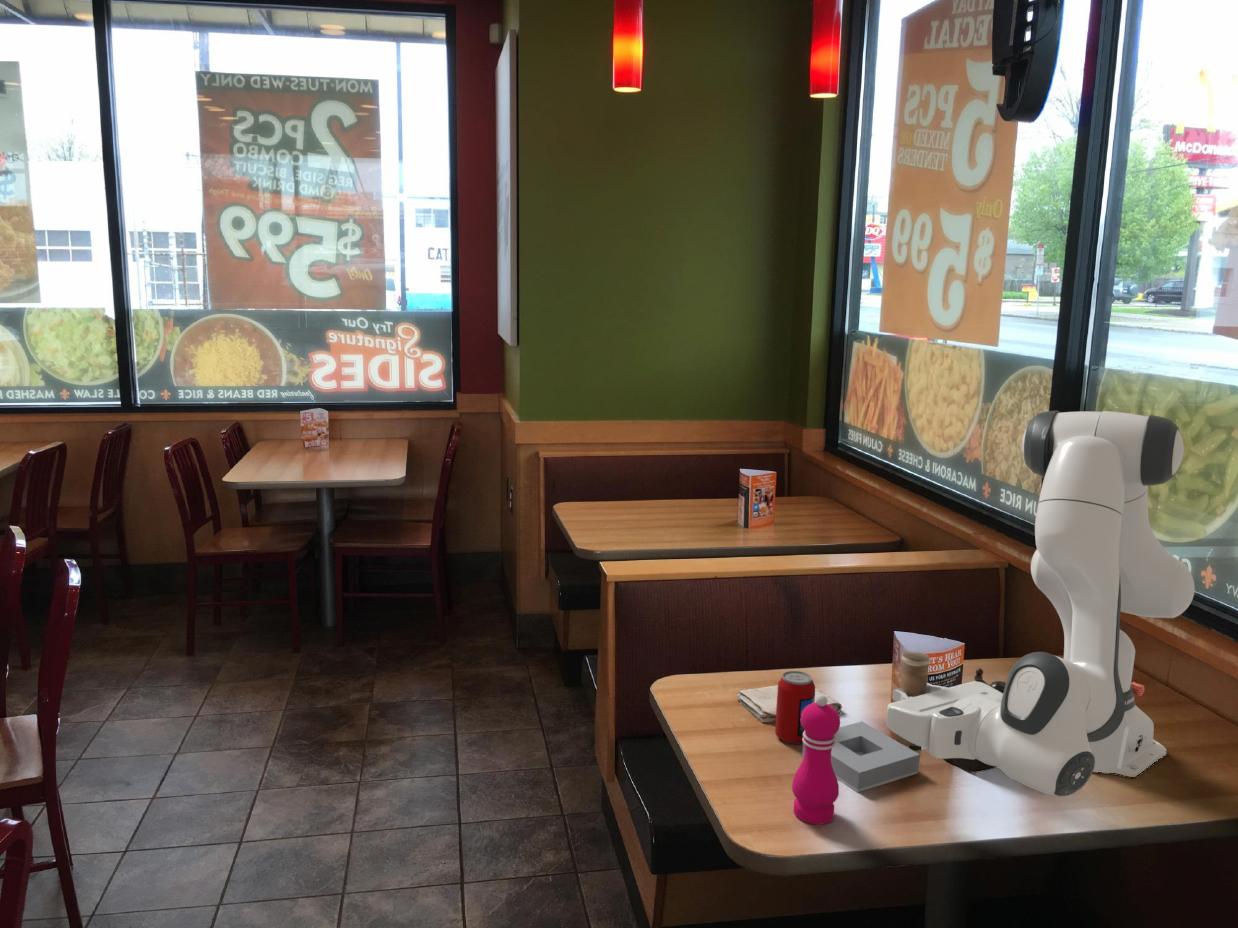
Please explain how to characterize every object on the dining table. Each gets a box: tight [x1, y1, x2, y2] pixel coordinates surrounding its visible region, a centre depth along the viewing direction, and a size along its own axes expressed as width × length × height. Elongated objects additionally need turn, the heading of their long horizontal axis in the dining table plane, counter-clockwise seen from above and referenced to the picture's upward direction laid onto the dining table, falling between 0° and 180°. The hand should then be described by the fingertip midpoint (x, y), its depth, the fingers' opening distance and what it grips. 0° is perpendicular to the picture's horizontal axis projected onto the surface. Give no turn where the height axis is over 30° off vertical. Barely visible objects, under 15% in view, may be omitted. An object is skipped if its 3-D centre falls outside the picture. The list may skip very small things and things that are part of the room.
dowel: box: [894, 651, 931, 747], centre depth 150 cm, size 4×4×14 cm
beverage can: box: [774, 670, 816, 745], centre depth 175 cm, size 7×7×12 cm
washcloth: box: [736, 684, 843, 724], centre depth 189 cm, size 12×18×3 cm, turn 112°
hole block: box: [801, 721, 921, 793], centre depth 167 cm, size 14×14×4 cm
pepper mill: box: [791, 695, 841, 825], centre depth 149 cm, size 7×7×20 cm
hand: (908, 690), depth 151 cm, fingers closed on dowel, 4 cm apart
